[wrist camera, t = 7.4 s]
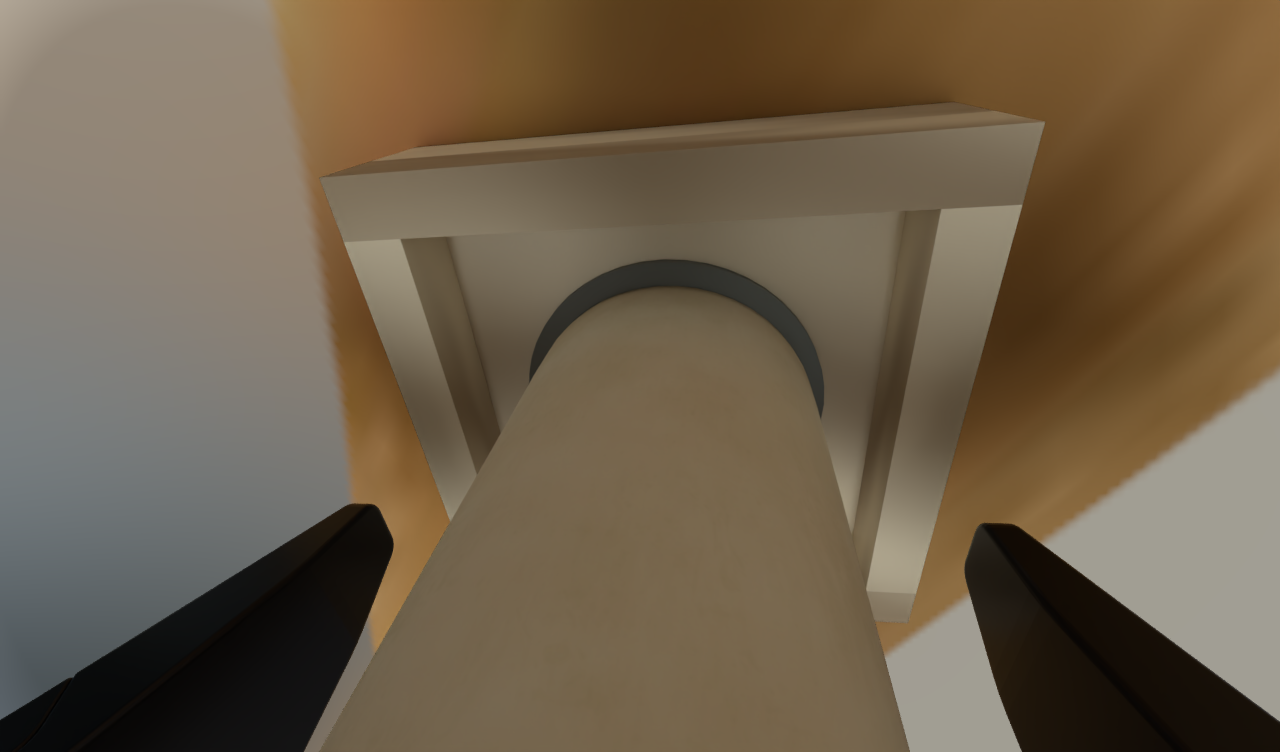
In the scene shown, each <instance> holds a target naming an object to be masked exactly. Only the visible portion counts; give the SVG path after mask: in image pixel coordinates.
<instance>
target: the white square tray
mask: <svg viewBox="0 0 1280 752" xmlns="http://www.w3.org/2000/svg"><path fill="white" fill-rule="evenodd" d="M1044 125H1045V122H1044V121H1040V120H1035V119H1031V118H1026V117H1021V116H1017V115H1012V114H1007V113H1003V112H998V111H994V110H989V109H984V108H980V107H975V106H970V105H966V104H961V103H957V102H948V103H936V104H924V105H913V106H901V107H889V108H877V109H865V110H853V111H841V112H830V113H818V114H806V115H794V116H782V117H770V118H758V119H747V120H735V121H723V122H711V123H699V124H687V125H676V126H664V127H652V128H640V129H628V130H616V131H604V132H593V133H581V134H569V135H557V136H545V137H533V138H521V139H510V140H498V141H486V142H474V143H462V144H450V145H438V146H427V147H415V148H412V149H409V150H405V151H402V152H399V153H396V154H393V155H390V156H386V157H383V158H380V159H377V160H374V161H370V162H367V163H364V164H361V165H358V166H355V167H351V168H348V169H345V170H342V171H339V172H336V173H332V174H329V175H326V176H323V177H320V178H319V179H320V181H321V184H322V186H323V189H324V192H325V194H326V197H327V200H328V202H329V205H330V207H331V210H332V213H333V215H334V218H335V221H336V223H337V226H338V228H339V231H340V234H341V236H342V239H343V241H344V244H345V247H346V249H347V252H348V255H349V257H350V260H351V262H352V265H353V268H354V270H355V273H356V276H357V278H358V281H359V283H360V286H361V289H362V291H363V294H364V297H365V299H366V302H367V304H368V307H369V310H370V312H371V315H372V317H373V320H374V323H375V325H376V328H377V331H378V333H379V336H380V338H381V341H382V344H383V346H384V349H385V352H386V354H387V357H388V359H389V362H390V365H391V367H392V370H393V373H394V375H395V378H396V380H397V383H398V386H399V388H400V391H401V393H402V396H403V399H404V401H405V404H406V407H407V409H408V412H409V414H410V417H411V420H412V422H413V425H414V428H415V430H416V433H417V435H418V438H419V441H420V443H421V446H422V449H423V451H424V454H425V456H426V459H427V462H428V464H429V467H430V469H431V472H432V475H433V477H434V480H435V483H436V485H437V488H438V490H439V493H440V496H441V498H442V501H443V504H444V506H445V509H446V511H447V514H448V517H449V519H450V522H451V520H452V518H453V516H454V515H455V513H456V511H457V509H458V508H459V506H460V504H461V502H462V501H463V499H464V497H465V495H466V494H467V492H468V490H469V488H470V487H471V485H472V483H473V481H474V480H475V478H476V476H477V474H478V473H479V471H480V469H481V467H482V466H483V464H484V462H485V460H486V458H487V457H488V455H489V453H490V451H491V450H492V448H493V446H494V444H495V443H496V441H497V439H498V437H499V436H500V434H501V432H502V430H503V429H504V427H505V425H506V423H507V422H508V420H509V418H510V416H511V415H512V413H513V411H514V409H515V408H516V406H517V404H518V402H519V401H520V399H521V397H522V395H523V394H524V392H525V390H526V388H527V387H528V385H529V383H530V381H531V380H532V378H533V376H534V374H535V373H536V371H537V369H538V368H539V366H540V365H541V363H542V361H543V360H544V358H545V356H546V355H547V353H548V352H549V350H550V349H551V347H552V346H553V344H554V343H555V341H556V340H557V338H558V337H559V336H560V335H561V334H562V333H563V331H564V330H565V329H566V328H567V327H568V326H569V325H570V324H571V323H572V322H573V321H575V320H576V319H577V318H578V317H579V316H581V315H582V314H583V313H584V312H586V311H587V310H588V309H590V308H592V307H593V306H595V305H597V304H598V303H600V302H602V301H604V300H606V299H608V298H611V297H613V296H616V295H618V294H621V293H624V292H628V291H632V290H635V289H640V288H647V287H655V286H682V287H691V288H698V289H702V290H706V291H711V292H715V293H718V294H720V295H723V296H726V297H729V298H731V299H734V300H736V301H738V302H740V303H742V304H743V305H745V306H747V307H749V308H751V309H752V310H754V311H755V312H757V313H758V314H760V315H761V316H762V317H764V318H765V319H766V320H768V321H769V322H770V323H771V324H772V325H773V326H774V327H775V328H776V329H777V330H778V331H779V332H780V333H781V334H782V335H783V337H784V338H785V339H786V340H787V342H788V343H789V344H790V345H791V347H792V348H793V350H794V351H795V353H796V355H797V357H798V358H799V360H800V362H801V363H802V365H803V367H804V369H805V372H806V374H807V377H808V380H809V382H810V385H811V388H812V392H813V395H814V398H815V401H816V405H817V408H818V412H819V415H820V419H821V423H822V427H823V430H824V434H825V438H826V441H827V445H828V449H829V453H830V456H831V460H832V464H833V468H834V471H835V475H836V479H837V482H838V486H839V490H840V494H841V497H842V501H843V505H844V508H845V512H846V516H847V520H848V523H849V527H850V531H851V534H852V538H853V542H854V546H855V549H856V553H857V557H858V561H859V564H860V568H861V572H862V575H863V579H864V583H865V587H866V590H867V594H868V598H869V601H870V605H871V609H872V613H873V616H874V620H875V621H880V622H897V623H908V621H909V617H910V614H911V610H912V607H913V603H914V599H915V596H916V592H917V588H918V585H919V581H920V577H921V574H922V570H923V566H924V563H925V559H926V555H927V552H928V548H929V544H930V541H931V537H932V533H933V530H934V526H935V523H936V519H937V515H938V512H939V508H940V504H941V501H942V497H943V493H944V490H945V486H946V482H947V479H948V475H949V471H950V468H951V464H952V460H953V457H954V453H955V450H956V446H957V442H958V439H959V435H960V431H961V428H962V424H963V420H964V417H965V413H966V409H967V406H968V402H969V398H970V395H971V391H972V387H973V384H974V380H975V377H976V373H977V369H978V366H979V362H980V358H981V355H982V351H983V347H984V344H985V340H986V336H987V333H988V329H989V325H990V322H991V318H992V314H993V311H994V307H995V303H996V300H997V296H998V293H999V289H1000V285H1001V282H1002V278H1003V274H1004V271H1005V267H1006V263H1007V260H1008V256H1009V252H1010V249H1011V245H1012V241H1013V238H1014V234H1015V230H1016V227H1017V223H1018V220H1019V216H1020V212H1021V209H1022V205H1023V201H1024V198H1025V194H1026V190H1027V187H1028V183H1029V179H1030V176H1031V172H1032V168H1033V165H1034V161H1035V157H1036V154H1037V150H1038V146H1039V143H1040V139H1041V136H1042V132H1043V128H1044Z"/></svg>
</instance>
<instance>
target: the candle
mask: <svg viewBox="0 0 1280 752" xmlns="http://www.w3.org/2000/svg"><path fill="white" fill-rule="evenodd" d="M319 752H910V750H909V747H908V743H907V739H906V735H905V732H904V728H903V724H902V721H901V717H900V713H899V710H898V706H897V702H896V698H895V695H894V691H893V687H892V683H891V680H890V676H889V672H888V669H887V665H886V661H885V657H884V654H883V650H882V646H881V642H880V639H879V635H878V631H877V628H876V624H875V620H874V616H873V613H872V609H871V605H870V601H869V598H868V594H867V590H866V587H865V583H864V579H863V575H862V572H861V568H860V564H859V561H858V557H857V553H856V549H855V546H854V542H853V538H852V534H851V531H850V527H849V523H848V520H847V516H846V512H845V508H844V505H843V501H842V497H841V494H840V490H839V486H838V482H837V479H836V475H835V471H834V468H833V464H832V460H831V456H830V453H829V449H828V445H827V441H826V438H825V434H824V430H823V427H822V423H821V419H820V415H819V412H818V408H817V405H816V401H815V398H814V395H813V392H812V388H811V385H810V382H809V380H808V377H807V374H806V372H805V369H804V367H803V365H802V363H801V362H800V360H799V358H798V357H797V355H796V353H795V351H794V350H793V348H792V347H791V345H790V344H789V343H788V342H787V340H786V339H785V338H784V337H783V335H782V334H781V333H780V332H779V331H778V330H777V329H776V328H775V327H774V326H773V325H772V324H771V323H770V322H769V321H768V320H766V319H765V318H764V317H762V316H761V315H760V314H758V313H757V312H755V311H754V310H752V309H751V308H749V307H747V306H745V305H743V304H742V303H740V302H738V301H736V300H734V299H731V298H729V297H726V296H723V295H720V294H718V293H715V292H711V291H706V290H702V289H698V288H691V287H682V286H655V287H647V288H640V289H635V290H632V291H628V292H624V293H621V294H618V295H616V296H613V297H611V298H608V299H606V300H604V301H602V302H600V303H598V304H597V305H595V306H593V307H592V308H590V309H588V310H587V311H586V312H584V313H583V314H582V315H581V316H579V317H578V318H577V319H576V320H575V321H573V322H572V323H571V324H570V325H569V326H568V327H567V328H566V329H565V330H564V331H563V333H562V334H561V335H560V336H559V337H558V338H557V340H556V341H555V343H554V344H553V346H552V347H551V349H550V350H549V352H548V353H547V355H546V356H545V358H544V360H543V361H542V363H541V365H540V366H539V368H538V369H537V371H536V373H535V374H534V376H533V378H532V380H531V381H530V383H529V385H528V387H527V388H526V390H525V392H524V394H523V395H522V397H521V399H520V401H519V402H518V404H517V406H516V408H515V409H514V411H513V413H512V415H511V416H510V418H509V420H508V422H507V423H506V425H505V427H504V429H503V430H502V432H501V434H500V436H499V437H498V439H497V441H496V443H495V444H494V446H493V448H492V450H491V451H490V453H489V455H488V457H487V458H486V460H485V462H484V464H483V466H482V467H481V469H480V471H479V473H478V474H477V476H476V478H475V480H474V481H473V483H472V485H471V487H470V488H469V490H468V492H467V494H466V495H465V497H464V499H463V501H462V502H461V504H460V506H459V508H458V509H457V511H456V513H455V515H454V516H453V518H452V520H451V522H450V523H449V525H448V527H447V529H446V530H445V532H444V534H443V536H442V537H441V539H440V541H439V543H438V544H437V546H436V548H435V550H434V551H433V553H432V555H431V557H430V558H429V560H428V562H427V564H426V565H425V567H424V569H423V571H422V572H421V574H420V576H419V578H418V579H417V581H416V583H415V585H414V586H413V588H412V590H411V592H410V594H409V595H408V597H407V599H406V601H405V602H404V604H403V606H402V608H401V609H400V611H399V613H398V615H397V616H396V618H395V620H394V622H393V623H392V625H391V627H390V629H389V630H388V632H387V634H386V636H385V637H384V639H383V641H382V643H381V644H380V646H379V648H378V650H377V651H376V653H375V655H374V657H373V658H372V660H371V662H370V664H369V665H368V667H367V669H366V671H365V672H364V674H363V676H362V678H361V679H360V681H359V683H358V685H357V687H356V688H355V690H354V692H353V694H352V695H351V697H350V699H349V701H348V702H347V704H346V706H345V708H344V709H343V711H342V713H341V715H340V716H339V718H338V720H337V722H336V723H335V725H334V727H333V729H332V731H331V732H330V734H329V736H328V737H327V739H326V741H325V743H324V744H323V746H322V748H321V750H320V751H319Z"/></svg>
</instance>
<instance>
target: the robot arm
mask: <svg viewBox="0 0 1280 752" xmlns="http://www.w3.org/2000/svg"><path fill="white" fill-rule="evenodd" d="M393 545H394V543H393V538H392V535H391V533H390V531H389V529H388V527H387V524H386V522H385V520H384V518H383V516H382V514H381V512H380V510H379V508H378V507H377V506H375V505H373V504H349V505H347V506H345V507H343V508H341V509H340V510H338V511H337V512H335V513H333V514H332V515H331V516H329V517H327V518H325V519H324V520H322V521H321V522H319V523H317V524H316V525H314V526H313V527H311V528H309V529H308V530H306V531H304V532H303V533H301V534H300V535H298V536H296V537H295V538H293V539H291V540H290V541H288V542H287V543H285V544H283V545H282V546H280V547H279V548H277V549H275V550H274V551H273V552H271V553H269V554H267V555H266V556H264V557H262V558H261V559H259V560H258V561H256V562H255V563H253V564H252V565H250V566H248V567H246V568H245V569H243V570H242V571H240V572H239V573H237V574H235V575H234V576H232V577H230V578H229V579H227V580H225V581H224V582H222V583H221V584H219V585H217V586H216V587H214V588H213V589H211V590H209V591H208V592H206V593H205V594H203V595H201V596H200V597H198V598H196V599H195V600H193V601H192V602H190V603H188V604H187V605H185V606H184V607H182V608H181V609H179V610H177V611H176V612H174V613H172V614H171V615H169V616H167V617H166V618H164V619H163V620H161V621H160V622H158V623H156V624H155V625H153V626H151V627H150V628H148V629H147V630H145V631H143V632H142V633H140V634H139V635H137V636H135V637H134V638H132V639H130V640H129V641H127V642H126V643H124V644H123V645H121V646H119V647H118V648H116V649H114V650H113V651H111V652H110V653H108V654H106V655H105V656H103V657H101V658H100V659H98V660H97V661H95V662H93V663H92V664H90V665H89V666H87V667H85V668H84V669H82V670H81V671H79V672H77V674H75V676H74V677H73V678H68V679H66V680H64V681H63V682H61V683H59V684H58V685H56V686H55V687H53V688H51V689H50V690H48V691H47V692H45V693H43V694H42V695H40V696H39V697H37V698H36V699H34V700H32V701H31V702H29V703H27V704H26V705H24V706H22V707H21V708H19V709H17V710H16V711H14V712H13V713H11V714H9V715H8V716H6V717H4V718H3V719H1V720H0V752H304V750H305V749H306V746H307V744H308V742H309V740H310V738H311V736H312V734H313V732H314V730H315V728H316V726H317V724H318V722H319V720H320V718H321V716H322V714H323V712H324V710H325V708H326V706H327V704H328V702H329V700H330V698H331V696H332V694H333V692H334V690H335V688H336V686H337V684H338V682H339V680H340V678H341V676H342V674H343V672H344V670H345V668H346V666H347V664H348V662H349V660H350V658H351V656H352V654H353V651H354V649H355V647H356V645H357V643H358V640H359V637H360V635H361V633H362V631H363V628H364V626H365V623H366V620H367V618H368V615H369V613H370V610H371V608H372V605H373V602H374V600H375V597H376V595H377V592H378V589H379V587H380V584H381V582H382V579H383V577H384V574H385V571H386V569H387V566H388V564H389V561H390V558H391V556H392V552H393ZM964 570H965V579H966V583H967V586H968V590H969V593H970V597H971V600H972V604H973V607H974V611H975V614H976V617H977V621H978V625H979V628H980V632H981V635H982V639H983V642H984V645H985V649H986V652H987V656H988V659H989V663H990V666H991V670H992V673H993V677H994V679H995V683H996V686H997V689H998V692H999V695H1000V697H1001V700H1002V703H1003V706H1004V709H1005V711H1006V714H1007V716H1008V719H1009V721H1010V724H1011V726H1012V729H1013V731H1014V733H1015V736H1016V739H1017V741H1018V743H1019V746H1020V748H1021V750H1022V752H1280V721H1278V720H1277V719H1276V718H1274V717H1273V716H1271V715H1270V714H1269V713H1268V712H1266V711H1265V710H1263V709H1262V708H1261V707H1259V706H1258V705H1257V704H1255V703H1254V702H1253V701H1251V700H1250V699H1249V698H1247V697H1246V696H1245V695H1243V694H1242V693H1241V692H1239V691H1238V690H1237V689H1235V688H1234V687H1233V686H1231V685H1230V684H1229V683H1227V682H1226V681H1225V680H1223V679H1222V678H1221V677H1219V676H1218V675H1216V674H1215V673H1214V672H1213V671H1211V670H1210V669H1208V668H1207V667H1206V666H1205V665H1203V664H1202V663H1201V662H1199V661H1198V660H1197V659H1195V658H1194V657H1192V656H1191V655H1190V654H1188V653H1187V652H1186V651H1184V650H1183V649H1182V648H1180V647H1179V646H1178V645H1176V644H1175V643H1174V642H1172V641H1171V640H1170V639H1168V638H1167V637H1166V636H1164V635H1163V634H1162V633H1160V632H1159V631H1158V630H1156V629H1155V628H1153V627H1152V626H1151V625H1149V624H1148V623H1147V622H1145V621H1144V620H1143V619H1142V618H1140V617H1139V616H1138V615H1136V614H1135V613H1134V612H1132V611H1131V610H1129V609H1128V608H1127V607H1125V606H1124V605H1123V604H1121V603H1120V602H1119V601H1117V600H1116V599H1115V598H1113V597H1112V596H1111V595H1109V594H1108V593H1107V592H1105V591H1104V590H1103V589H1101V588H1100V587H1098V586H1097V585H1096V584H1095V583H1093V582H1092V581H1091V580H1089V579H1088V578H1087V577H1085V576H1084V575H1083V574H1081V573H1080V572H1078V571H1077V570H1076V569H1074V568H1073V567H1072V566H1071V565H1069V564H1067V563H1066V562H1065V561H1064V560H1062V559H1061V558H1060V557H1058V556H1057V555H1056V554H1054V553H1053V552H1052V551H1050V550H1049V549H1048V548H1046V547H1045V546H1044V545H1042V544H1041V543H1040V542H1038V541H1037V540H1036V539H1034V538H1033V537H1032V536H1030V535H1029V534H1028V533H1026V532H1025V531H1024V530H1022V529H1021V528H1019V527H1018V526H1015V525H1013V524H1004V523H983V524H980V525H979V526H978V527H977V529H976V531H975V534H974V537H973V540H972V543H971V546H970V549H969V552H968V555H967V558H966V561H965V568H964Z"/></svg>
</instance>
